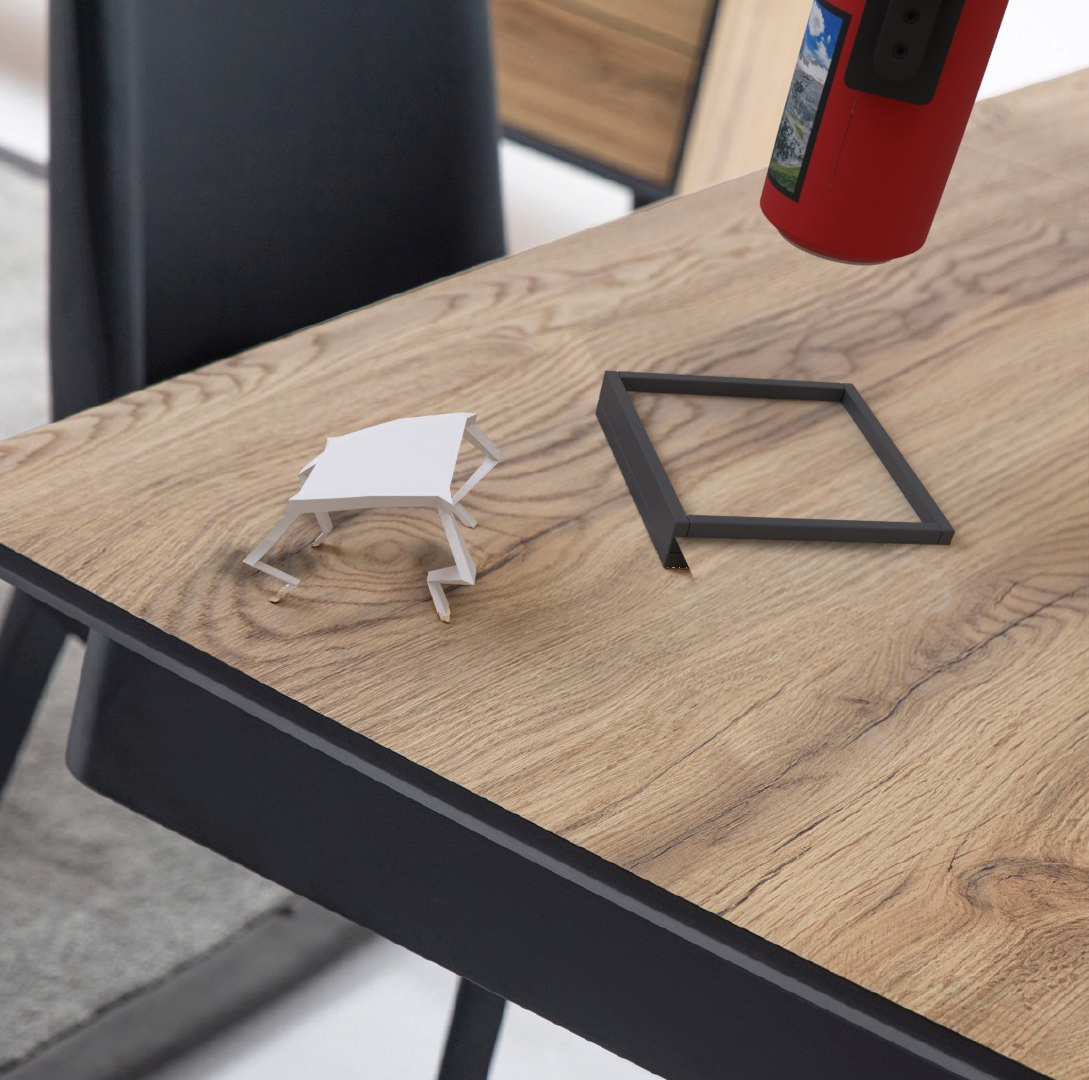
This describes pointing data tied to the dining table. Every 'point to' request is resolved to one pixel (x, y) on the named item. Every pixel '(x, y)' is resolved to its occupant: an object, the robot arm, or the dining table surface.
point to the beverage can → (869, 142)
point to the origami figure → (391, 485)
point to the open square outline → (671, 520)
